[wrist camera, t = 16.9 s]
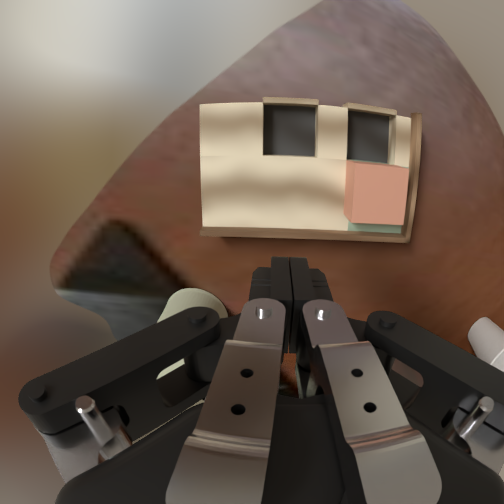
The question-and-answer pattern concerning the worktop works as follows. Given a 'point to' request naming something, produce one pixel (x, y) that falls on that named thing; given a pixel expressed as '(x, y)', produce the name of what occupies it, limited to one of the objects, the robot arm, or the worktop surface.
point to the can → (188, 300)
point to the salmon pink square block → (375, 193)
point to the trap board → (298, 167)
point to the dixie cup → (488, 342)
